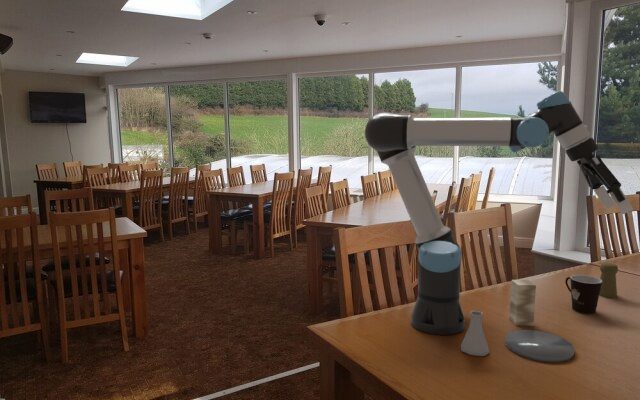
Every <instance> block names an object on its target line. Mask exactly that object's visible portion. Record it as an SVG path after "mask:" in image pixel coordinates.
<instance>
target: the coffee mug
mask: <svg viewBox="0 0 640 400" xmlns="http://www.w3.org/2000/svg"><path fill="white" fill-rule="evenodd" d="M569 280H570V286H569V284H568V282H569ZM601 285H602V280H601V279H600V277H599V278H598V277H595V276H592V275H591V276H590V275H586V274H585V275H583V274H574V275H570V276H568V277H566V278H565V286H566V288H567V289H568V291H569V292H570V295H571V309H572V310H573V311H575V312H576V313H580V314H586V315H591V314H595V313H597V312H596V311H597V307H598V302H599V298H600V296H599V294H600V290H601Z"/></svg>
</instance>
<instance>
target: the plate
mask: <svg viewBox="0 0 640 400" xmlns="http://www.w3.org/2000/svg"><path fill="white" fill-rule="evenodd" d="M504 341H505V343H504V344H505V345H506V347H507V348H508V349H509V350H510V351H511V352H513V353H515V354H516V355H518V356H521V357H524V358H527V359H529V360H533V361H539V362H546V363H561V362H566V361H567V362H568V361H569V360H571V359H573V357H574V354H575V347H574V345H573V344H572V343H571V342H570V341H568V340H567V339H565V338H563V337H561V336H558V335H555V334H553V333H551V332H550V333H548V332H545V331H540V330H534V329H533V330H532V329H531V330H530V329H519V330H514V331H513V330H512V331H511V332H508V333H507V334H506V336H505V340H504Z"/></svg>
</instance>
